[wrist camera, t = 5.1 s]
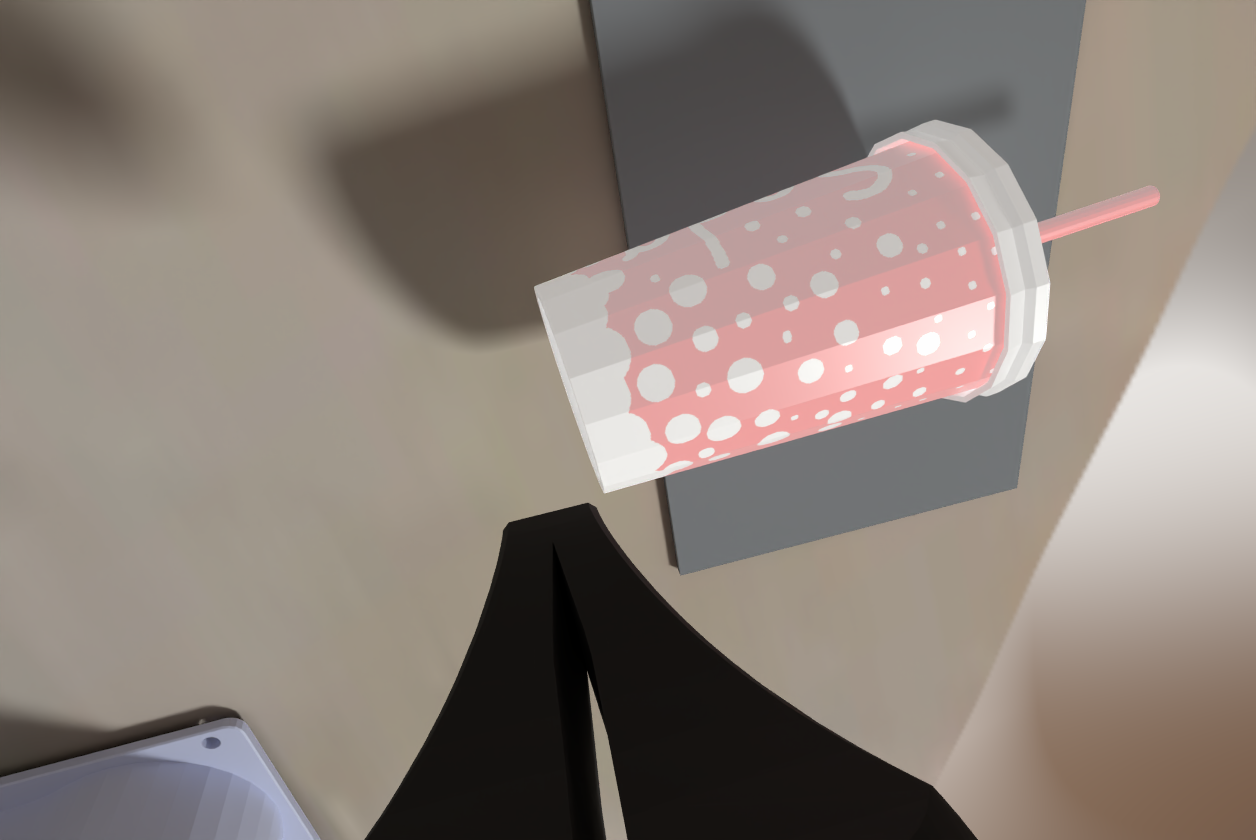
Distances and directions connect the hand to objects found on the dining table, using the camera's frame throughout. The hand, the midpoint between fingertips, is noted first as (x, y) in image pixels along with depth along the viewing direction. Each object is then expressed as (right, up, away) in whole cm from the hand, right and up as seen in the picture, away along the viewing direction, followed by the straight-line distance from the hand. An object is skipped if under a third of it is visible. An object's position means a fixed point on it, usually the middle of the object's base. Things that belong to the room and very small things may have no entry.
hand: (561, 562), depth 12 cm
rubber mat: (+7, +6, +9) cm, 13 cm away
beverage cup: (0, +3, +4) cm, 5 cm away
